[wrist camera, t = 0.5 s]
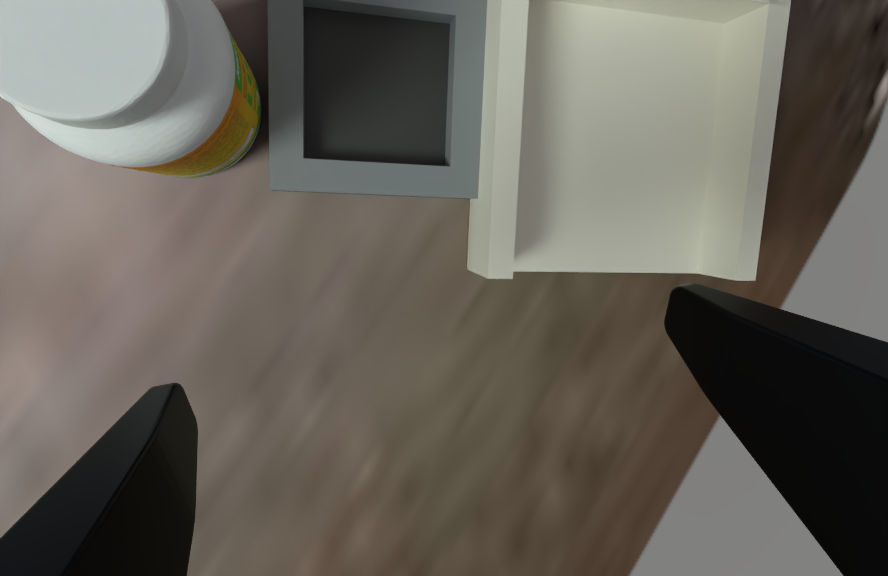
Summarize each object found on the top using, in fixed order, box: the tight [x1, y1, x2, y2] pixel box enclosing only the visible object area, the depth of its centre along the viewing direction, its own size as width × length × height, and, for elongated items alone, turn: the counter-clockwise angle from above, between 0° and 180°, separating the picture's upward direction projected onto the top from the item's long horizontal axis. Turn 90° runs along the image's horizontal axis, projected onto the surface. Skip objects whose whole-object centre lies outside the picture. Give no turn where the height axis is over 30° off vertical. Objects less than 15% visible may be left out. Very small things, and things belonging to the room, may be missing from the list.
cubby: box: [467, 0, 791, 281], centre depth 22 cm, size 12×12×3 cm
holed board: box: [267, 0, 487, 199], centre depth 20 cm, size 8×8×1 cm
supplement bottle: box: [0, 0, 262, 178], centre depth 15 cm, size 5×5×10 cm
